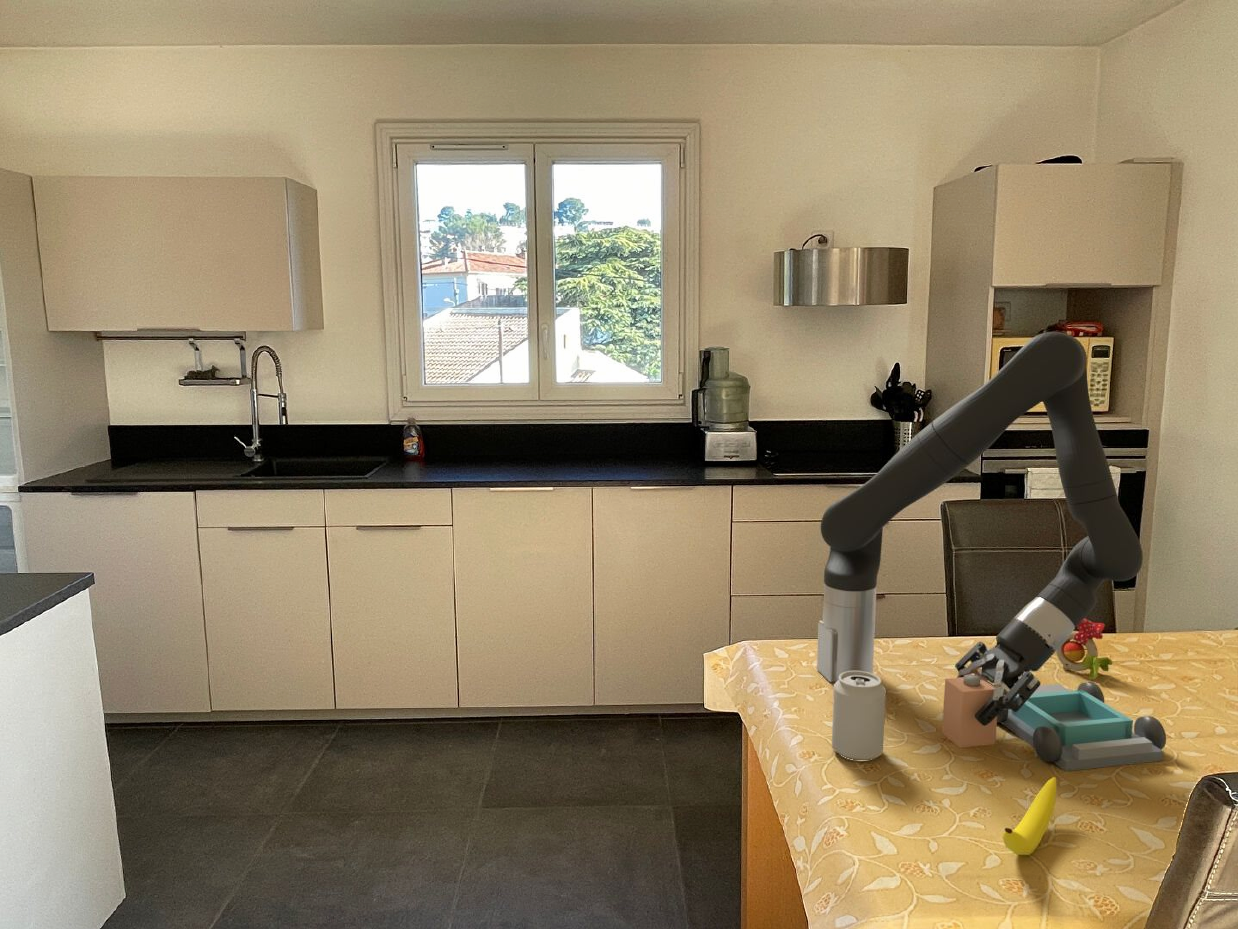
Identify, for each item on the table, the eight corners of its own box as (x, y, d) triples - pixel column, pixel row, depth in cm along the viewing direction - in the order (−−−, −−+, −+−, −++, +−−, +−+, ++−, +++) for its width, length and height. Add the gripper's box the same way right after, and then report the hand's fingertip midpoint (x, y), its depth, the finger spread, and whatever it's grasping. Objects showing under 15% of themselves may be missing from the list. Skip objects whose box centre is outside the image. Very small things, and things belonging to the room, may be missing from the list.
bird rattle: (1060, 686, 164) (1111, 680, 157) (1039, 627, 165) (1089, 618, 159) (1072, 676, 168) (1122, 670, 162) (1051, 619, 170) (1100, 610, 163)
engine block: (959, 747, 137) (963, 685, 135) (942, 732, 142) (945, 672, 140) (995, 744, 138) (999, 682, 136) (976, 729, 143) (980, 669, 141)
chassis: (1057, 772, 129) (1060, 739, 128) (979, 712, 149) (980, 683, 148) (1169, 760, 132) (1172, 728, 132) (1078, 703, 152) (1080, 675, 151)
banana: (1063, 815, 118) (1067, 770, 117) (1017, 884, 104) (1021, 834, 103) (1040, 807, 120) (1044, 763, 119) (991, 874, 106) (995, 825, 105)
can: (884, 745, 138) (887, 671, 136) (881, 768, 131) (884, 690, 129) (834, 737, 140) (836, 665, 138) (829, 760, 133) (831, 684, 131)
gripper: (993, 604, 145) (924, 676, 145) (1050, 634, 131) (974, 715, 131) (1021, 633, 147) (953, 705, 146) (1080, 666, 133) (1005, 745, 133)
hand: (963, 709), depth 139 cm, fingers open, 8 cm apart
